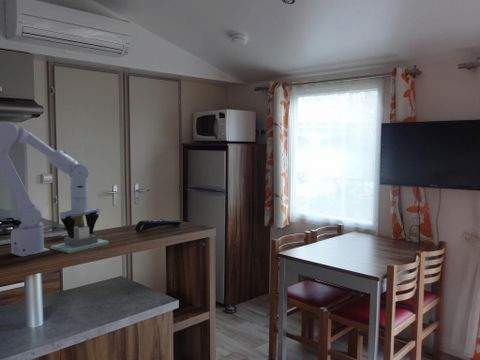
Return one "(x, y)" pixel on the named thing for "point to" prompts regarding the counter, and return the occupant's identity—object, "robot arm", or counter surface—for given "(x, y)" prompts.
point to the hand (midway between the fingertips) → (80, 235)
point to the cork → (78, 220)
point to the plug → (81, 231)
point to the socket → (79, 244)
